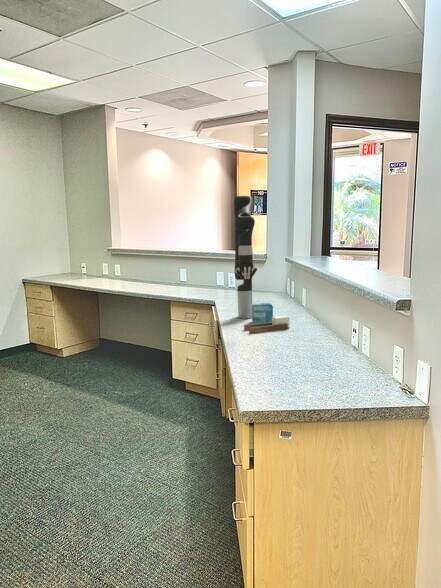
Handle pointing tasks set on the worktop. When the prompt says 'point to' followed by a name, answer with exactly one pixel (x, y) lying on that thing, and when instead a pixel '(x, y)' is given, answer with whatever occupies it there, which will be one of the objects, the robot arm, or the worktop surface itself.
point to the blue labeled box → (262, 313)
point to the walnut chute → (264, 327)
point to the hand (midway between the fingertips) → (246, 285)
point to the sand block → (280, 320)
